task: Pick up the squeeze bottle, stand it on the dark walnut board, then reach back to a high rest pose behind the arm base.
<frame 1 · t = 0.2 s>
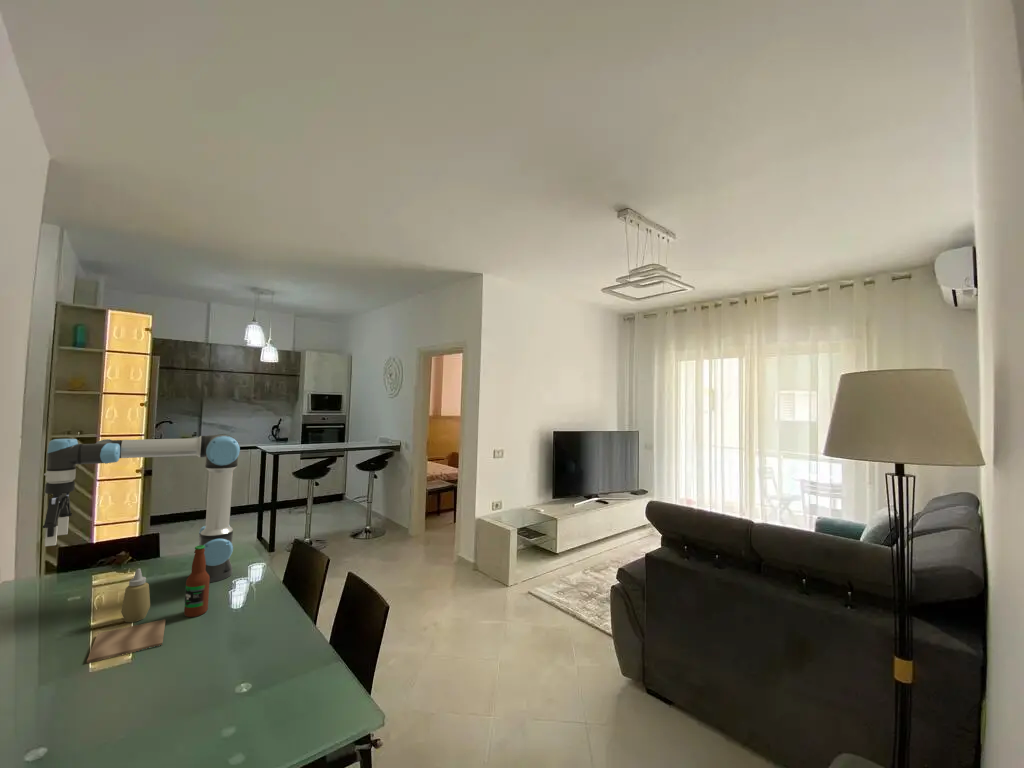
hand: (56, 540, 159), 28 cm above the table, fingers open, 13 cm apart
squeeze bottle: (135, 619, 159), on the table
walnut board: (129, 640, 146), on the table
bottle: (196, 613, 165), on the table
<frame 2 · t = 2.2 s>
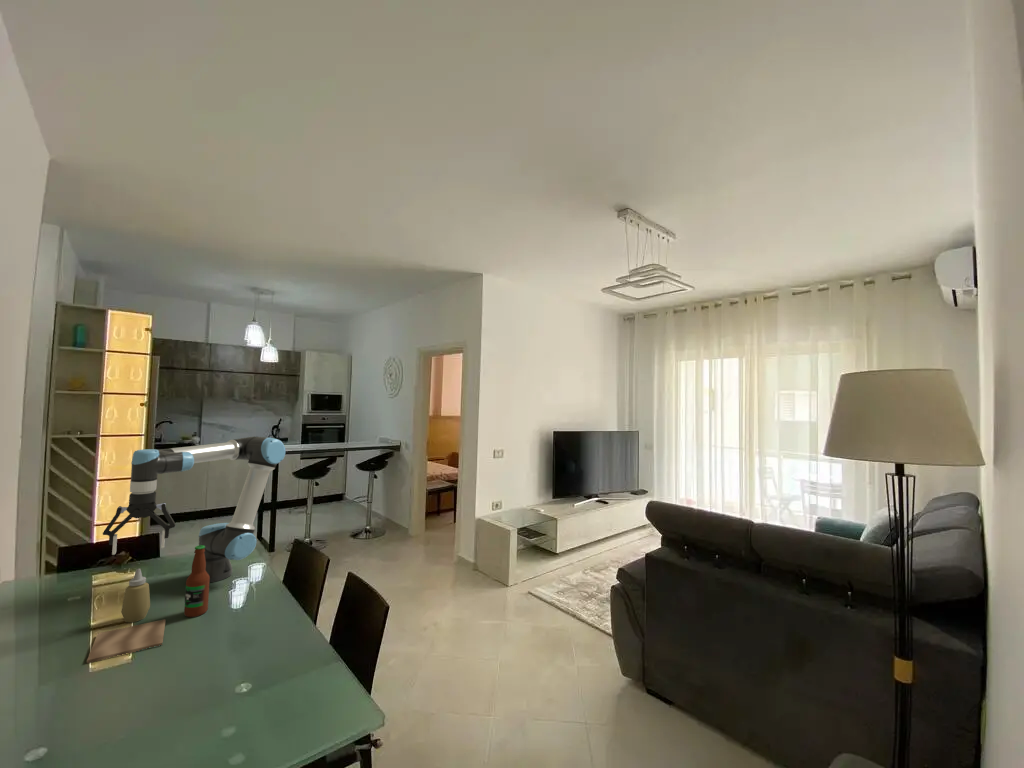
hand: (138, 550, 160), 25 cm above the table, fingers open, 13 cm apart
nothing on the table moved.
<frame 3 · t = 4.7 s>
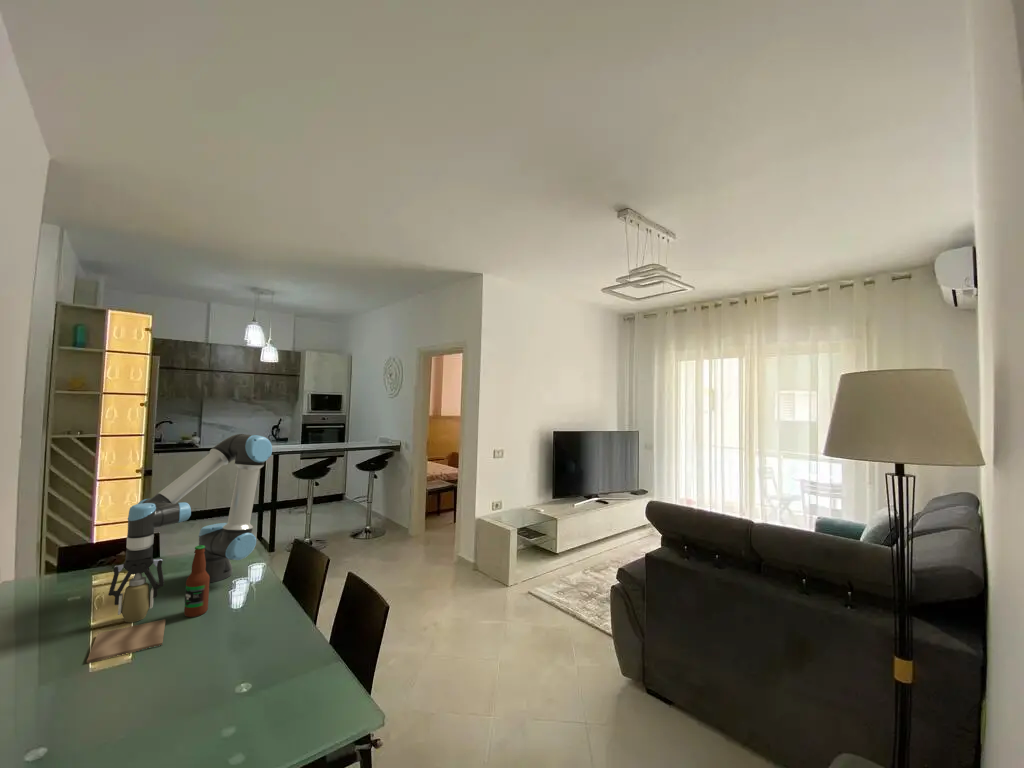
hand: (135, 609, 159), 3 cm above the table, fingers closed on squeeze bottle, 8 cm apart
squeeze bottle: (135, 619, 159), on the table, touching gripper
everything else where it was.
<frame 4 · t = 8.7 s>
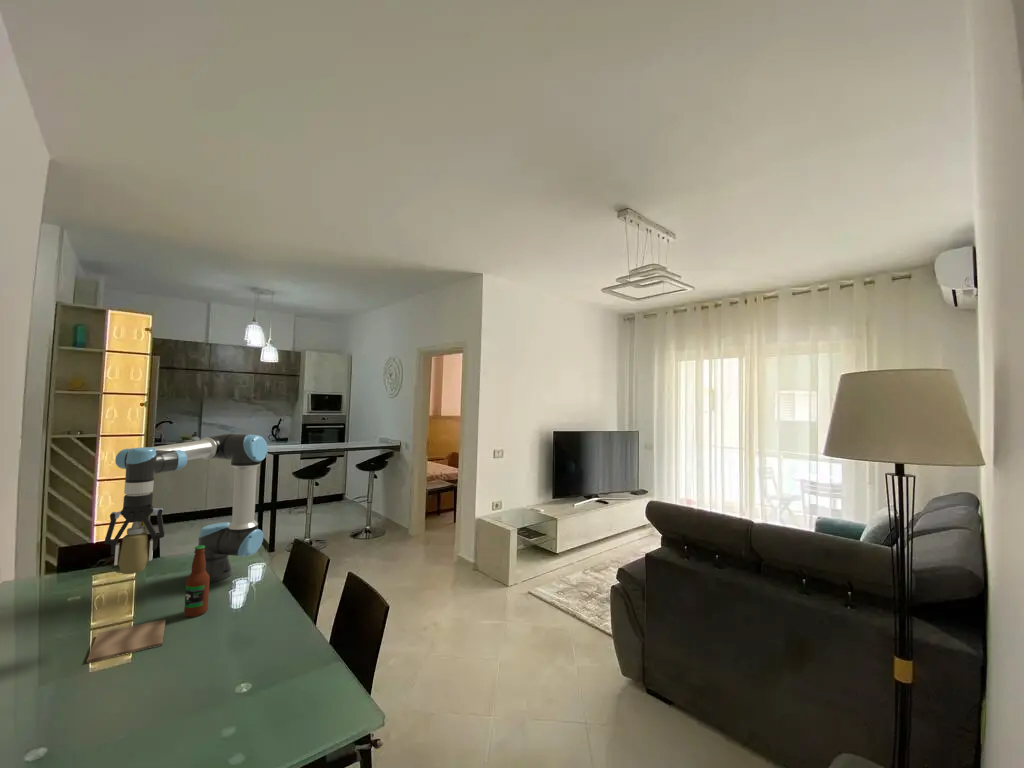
hand: (133, 561, 147), 26 cm above the table, fingers closed on squeeze bottle, 8 cm apart
squeeze bottle: (132, 571, 147), point 22 cm above the table, touching gripper
everything else where it was.
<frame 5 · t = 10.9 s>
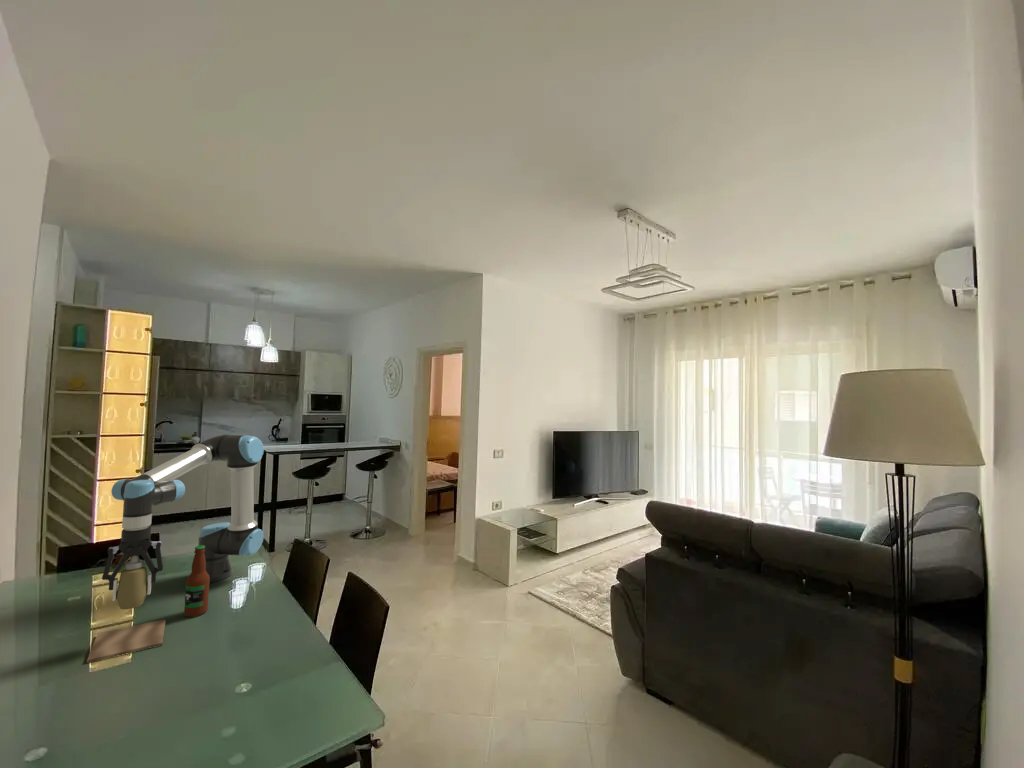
hand: (132, 596, 146), 15 cm above the table, fingers closed on squeeze bottle, 8 cm apart
squeeze bottle: (131, 606, 146), point 11 cm above the table, touching gripper
everything else where it was.
when the fingers open (6 cm above the table, at t = 13.0 s): squeeze bottle drops 2 cm, resting on walnut board.
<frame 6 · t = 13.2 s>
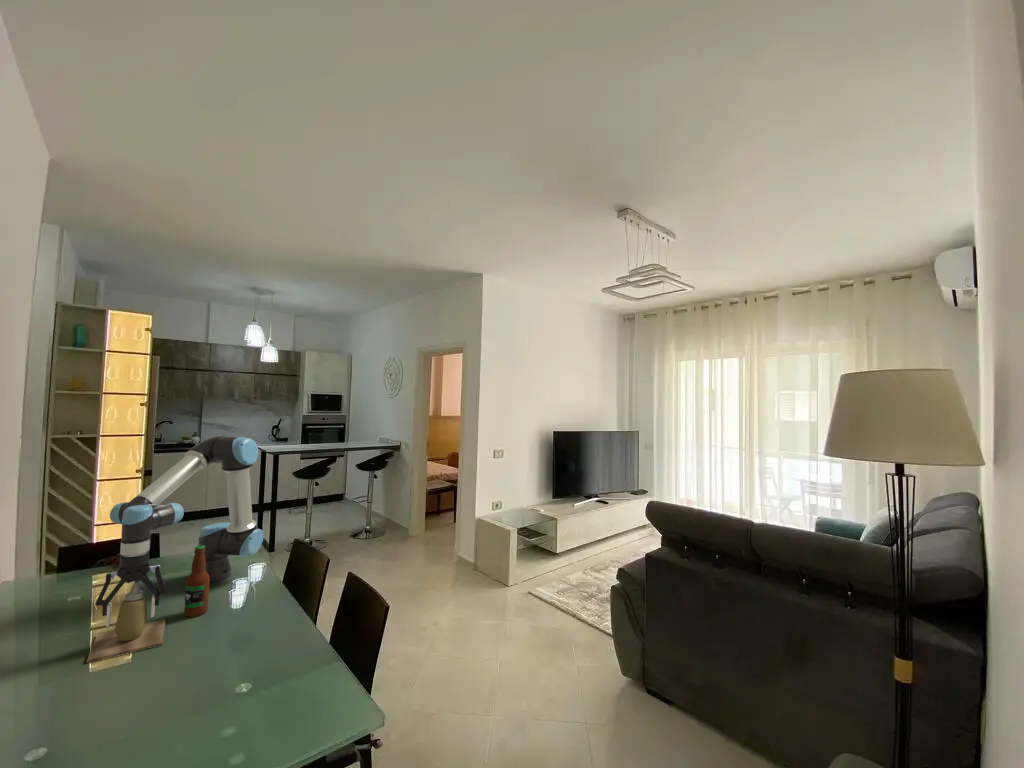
hand: (130, 619, 146), 7 cm above the table, fingers open, 10 cm apart
squeeze bottle: (129, 638, 146), point 1 cm above the table, touching walnut board
everything else where it was.
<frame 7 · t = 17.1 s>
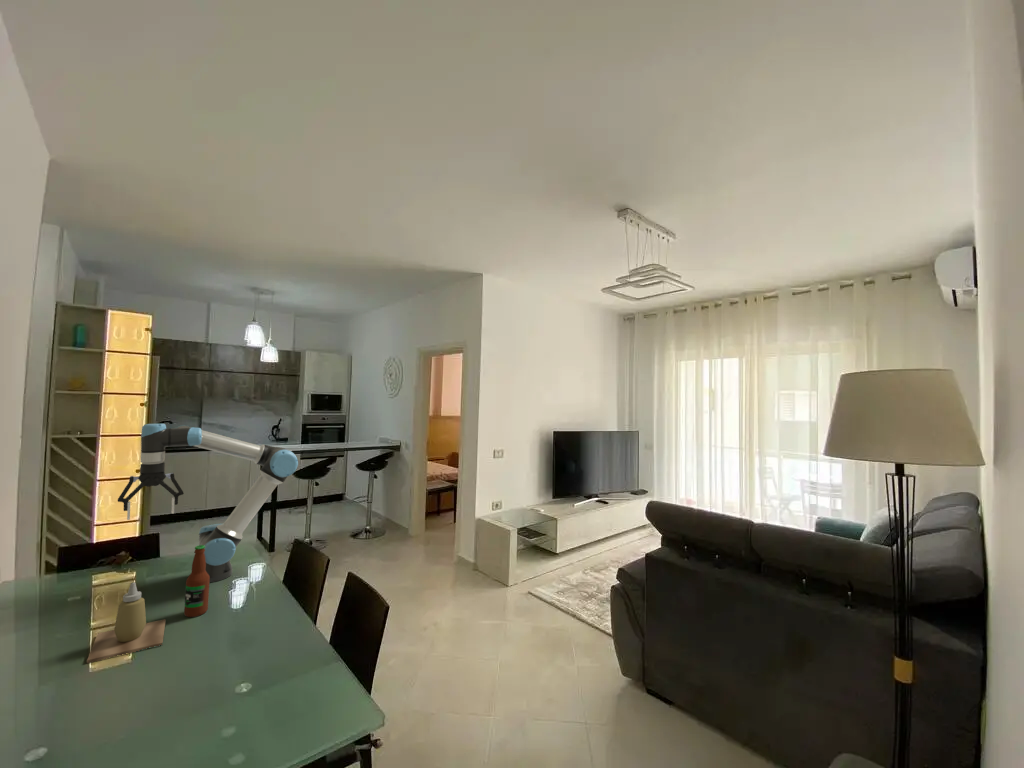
hand: (151, 516, 174), 33 cm above the table, fingers open, 13 cm apart
nothing on the table moved.
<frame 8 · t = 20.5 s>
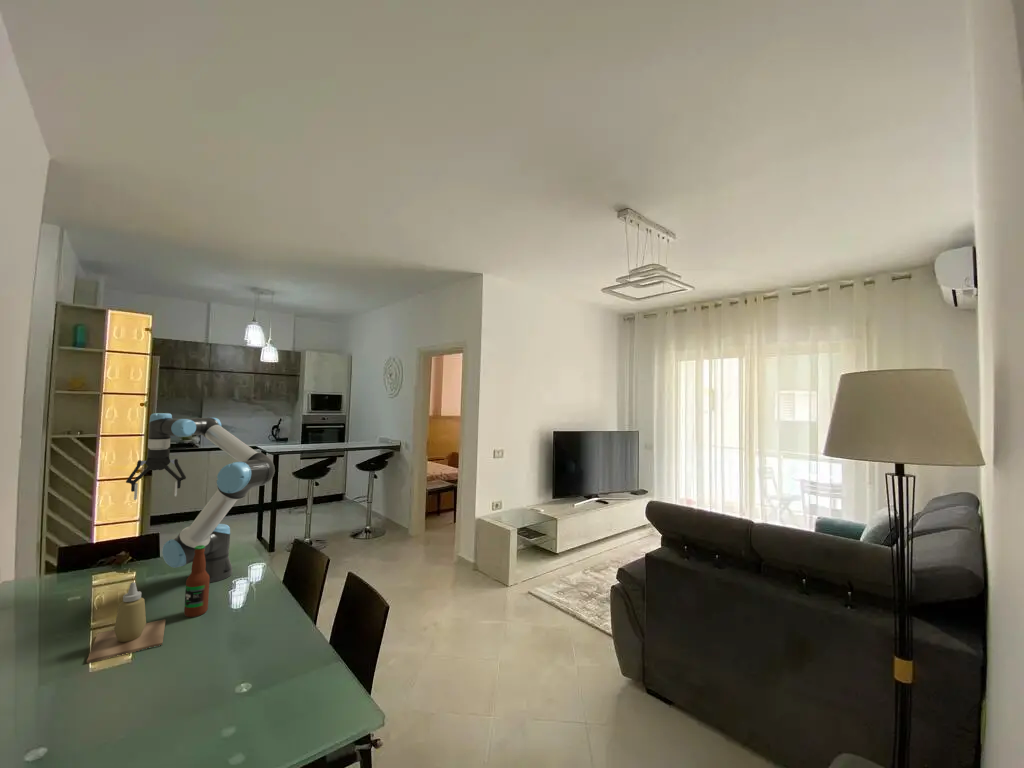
hand: (155, 497, 190), 37 cm above the table, fingers open, 13 cm apart
nothing on the table moved.
at the end: squeeze bottle inside the target area on the walnut board (0.1 cm from its centre), point 0.8 cm above the walnut board's base; squeeze bottle tilted 0°; the gripper is holding nothing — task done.
